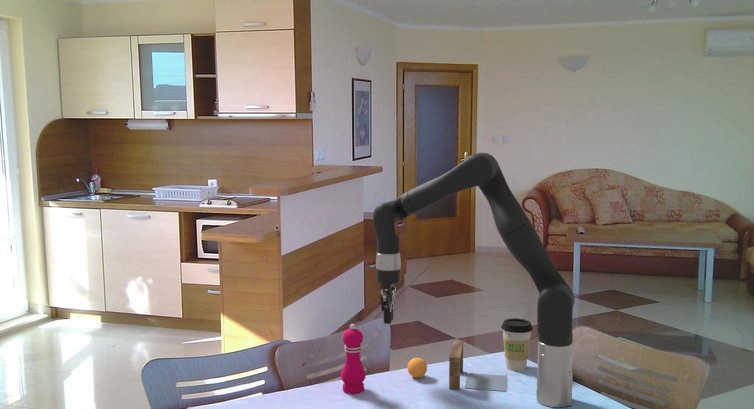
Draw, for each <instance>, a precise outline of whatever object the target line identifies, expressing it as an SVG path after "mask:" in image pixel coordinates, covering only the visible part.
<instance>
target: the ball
mask: <svg viewBox="0 0 754 409" xmlns="http://www.w3.org/2000/svg"><path fill="white" fill-rule="evenodd" d="M407 371H408V374H409V375H410V376H411V377H412V378H416V379H418V378H422V377H424V376H425V375H426V373H427V371H428V365H427V363H426V361H425V360H424V359H423V358H420V357H413V358H412V359H410V361H408V364H407Z"/></svg>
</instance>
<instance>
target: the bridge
mask: <svg viewBox="0 0 754 409" xmlns="http://www.w3.org/2000/svg"><path fill="white" fill-rule="evenodd" d="M448 358H449V360H448V362H449V364H448V366H449V367H448V372H449V373H448V375H449V376H448V390H453V391H454V390H455V391H460V388H461V374H460V373H464V341H458V340H453V344H452V346H451V350H450V354H449V357H448Z"/></svg>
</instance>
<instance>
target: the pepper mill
mask: <svg viewBox="0 0 754 409" xmlns="http://www.w3.org/2000/svg"><path fill="white" fill-rule="evenodd" d="M342 342H343V344H344V352H345V355H346V356H345V362H344V364H343V367H342V369H341V373H340V379H341V380H342V382H343V384H342V392H343V393H345V394H346V395H348V394H349V395H358V394H361V393H364V390H365V384H364V381H365V379H366V378H367V377H366V370H365V368H364V366H363V363H362V360H361V351H362V350H363V349H362V346H363V345H362V343H363V342H364V335H363V332H362V331H361V330H360V329H358V328H357V325H355V324H354V323H351V324H350V325H349V328H348V329H346V330H345V331H344V332H343V334H342Z"/></svg>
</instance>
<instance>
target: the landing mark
mask: <svg viewBox="0 0 754 409" xmlns="http://www.w3.org/2000/svg"><path fill="white" fill-rule="evenodd" d="M468 373H469V374H468ZM464 384H465V385H464V389H467V390H481V391H494V392H495V391H496V392H507V375H503V374H488V373H473V372H467V374H466V379H465V383H464Z"/></svg>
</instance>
